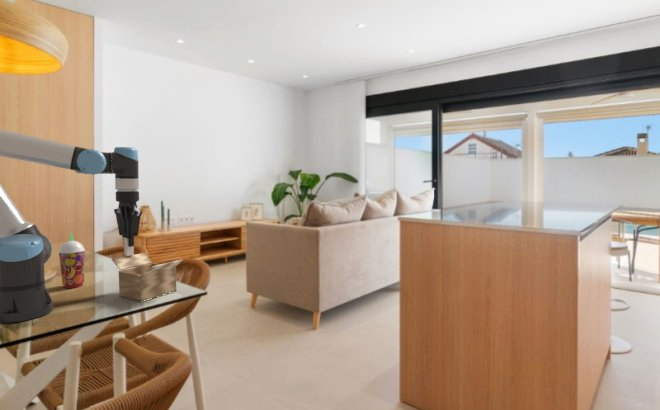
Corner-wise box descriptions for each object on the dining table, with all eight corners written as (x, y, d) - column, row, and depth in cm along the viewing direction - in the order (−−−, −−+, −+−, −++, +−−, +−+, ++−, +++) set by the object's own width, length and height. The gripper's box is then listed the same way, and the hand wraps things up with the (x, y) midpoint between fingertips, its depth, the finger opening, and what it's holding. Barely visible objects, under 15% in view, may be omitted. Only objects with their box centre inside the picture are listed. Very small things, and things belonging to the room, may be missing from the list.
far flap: (120, 269, 136) (112, 258, 138) (120, 270, 136) (111, 259, 138) (152, 262, 147) (144, 252, 149) (151, 263, 147) (143, 253, 149)
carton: (142, 302, 130) (141, 275, 130) (119, 296, 136) (118, 271, 135) (176, 291, 143) (175, 267, 142) (154, 286, 148) (153, 263, 148)
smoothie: (63, 284, 150) (61, 232, 148) (88, 282, 153) (86, 231, 151) (57, 290, 142) (54, 235, 141) (83, 288, 145) (81, 234, 144)
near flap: (143, 274, 130) (152, 267, 128) (143, 273, 130) (152, 266, 128) (174, 267, 141) (183, 260, 139) (174, 266, 141) (183, 259, 139)
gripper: (148, 190, 142) (149, 255, 143) (125, 189, 148) (127, 251, 150) (129, 191, 135) (131, 259, 137) (106, 190, 141) (108, 254, 143)
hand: (129, 255), depth 143 cm, fingers closed
